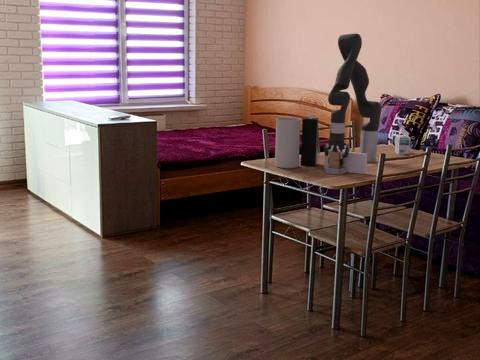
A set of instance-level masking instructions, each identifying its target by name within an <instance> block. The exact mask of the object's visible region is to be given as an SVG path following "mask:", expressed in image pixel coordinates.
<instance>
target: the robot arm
mask: <svg viewBox="0 0 480 360" xmlns="http://www.w3.org/2000/svg"><path fill="white" fill-rule="evenodd" d="M362 44H363V40H362V37H361V35H360V34H359V33H349V34H347V33H346V34H341V35H339V36H338V38H337V45H338V50H339V52H340V54H341V57H342V59H343V63H342V65H340V67H339V69H338V70H337V73H336V77H335V82H334V84H333V87H332V88H331V90H330V91H329V93H328V97H327V101H328V103H329V105H330V106H337V107H338V106H339V107H340V106H341V107H340V109H335V110H332V111H331V114H330V124H329V139H328V141H329V142H328V143H323V144H322V147H323V153H324V157H325V156H328V164H329V152H330V151H335V152H340V166H342V165H343V162H344V158H346V157H348V153H349V152H350V150H351V145H346V144H345V139H346V138H345V137H346V115H347V110H348V107H349V105H350V101H351V95H350V92H348V91H345V90H347V89H348V88H349V87H350V84H351V85H352V90H353V91H354V94H355V95H354V96H355V99H356V100H355V101H356V103H357V108H358V109H357V110H358V113H359V115H360V117H362V118H366V119H369V120H368V122H367V123H364V124H361V126H360V141H359V143H360V144H359V153H364V154H367V164H368V163H371V164H372V163H376V162H377V153H378V136H379V127H380V122H381V113H382V106H381V104H380V102H379V101H372V100H368V99H367V97H366V96H367V95H366V92H367V90H368V87H369V85H370V78H369V74H368V72H367V69H366V68H365V66H364V65H363V64H362V63H360V62H359V61H358V59H359V58H358V57H359V55H360V52H361V49H362ZM328 150H330V151H329V152H328ZM341 151H342V152H341ZM343 151H345V153H344V155H343Z"/></svg>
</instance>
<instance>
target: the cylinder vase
mask: <svg viewBox="0 0 480 360" xmlns="http://www.w3.org/2000/svg"><path fill="white" fill-rule="evenodd" d="M275 120H276V122H275V146H274V147H275V150H274V151H275V152H274V153H275V154H274V165H275V167H277V168H278V169H279V168H280V169H296V168H298V167H299V165H300V148H301V147H300V144H301V141H300V140H301V123H302V118H298V117H277V118H276V119H275Z"/></svg>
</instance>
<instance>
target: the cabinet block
mask: <svg viewBox="0 0 480 360" xmlns="http://www.w3.org/2000/svg"><path fill="white" fill-rule="evenodd" d="M341 152H342V151H341ZM329 168H333V169H341V168H342V166H340V152H335V151H330V152H329Z"/></svg>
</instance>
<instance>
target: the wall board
mask: <svg viewBox="0 0 480 360" xmlns="http://www.w3.org/2000/svg"><path fill="white" fill-rule="evenodd" d="M329 151H330V149H328V152H329ZM344 153H345V150H343V155H344ZM367 164H368V162H367V154H364V153H360V152H353V151H349V153H348V157H346V158H344V162H343V165H342V168H341V169H333V168H329V164H328V156H325V155H324V165H323V174H331V175H339V176H341V175H342V174H345V173H354V174H361V175H366V174H367V169H368V168H367V166H368V165H367Z"/></svg>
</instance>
